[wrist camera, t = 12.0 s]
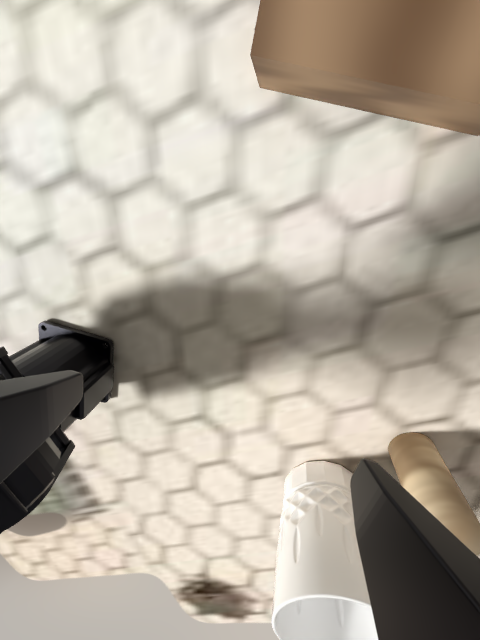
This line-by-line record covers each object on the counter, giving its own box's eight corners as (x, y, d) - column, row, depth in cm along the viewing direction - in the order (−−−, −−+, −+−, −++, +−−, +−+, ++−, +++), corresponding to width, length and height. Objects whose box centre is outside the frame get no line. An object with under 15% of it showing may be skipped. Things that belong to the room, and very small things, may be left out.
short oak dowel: (381, 457, 24) (412, 548, 18) (399, 427, 23) (440, 514, 17) (422, 469, 24) (468, 566, 18) (442, 440, 23) (500, 532, 16)
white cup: (277, 450, 26) (269, 585, 17) (371, 458, 25) (418, 609, 15) (279, 511, 29) (272, 654, 20) (363, 521, 28) (398, 680, 18)
